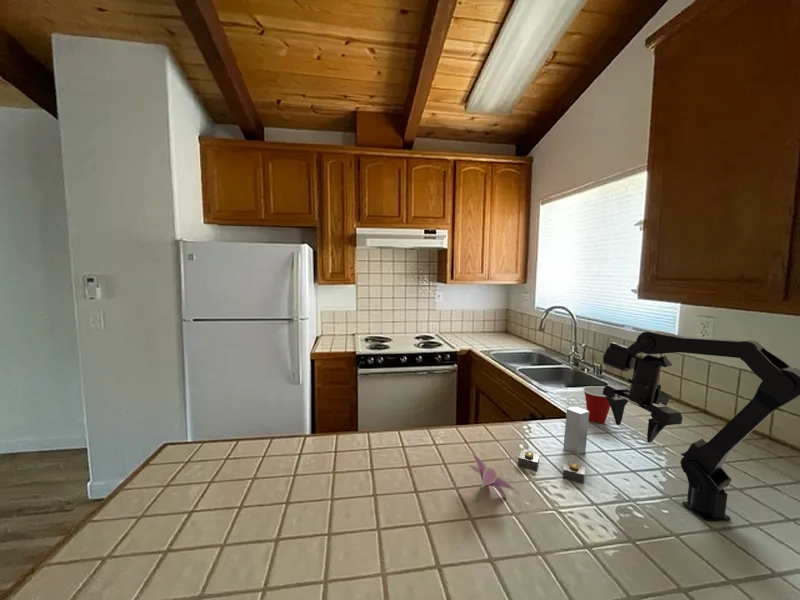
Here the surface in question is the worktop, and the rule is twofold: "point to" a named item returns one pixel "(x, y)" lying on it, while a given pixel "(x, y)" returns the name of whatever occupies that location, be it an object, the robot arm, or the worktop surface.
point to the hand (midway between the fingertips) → (633, 433)
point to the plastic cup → (596, 404)
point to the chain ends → (569, 471)
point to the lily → (489, 477)
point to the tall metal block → (576, 430)
